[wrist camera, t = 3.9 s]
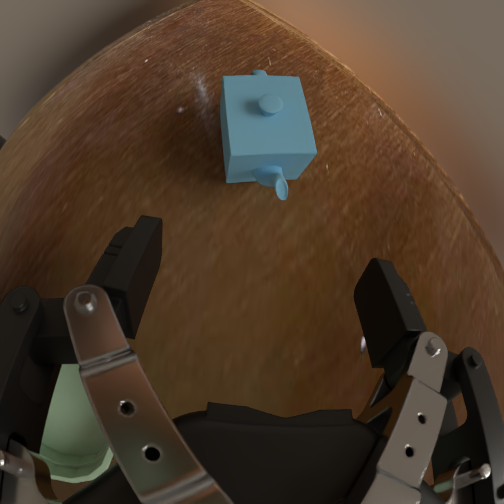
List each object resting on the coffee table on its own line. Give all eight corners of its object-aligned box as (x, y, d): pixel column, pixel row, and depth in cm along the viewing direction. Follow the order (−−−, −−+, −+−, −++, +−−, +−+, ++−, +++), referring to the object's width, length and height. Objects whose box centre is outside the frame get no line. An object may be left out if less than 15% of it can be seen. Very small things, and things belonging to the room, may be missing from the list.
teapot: (299, 219, 25) (332, 193, 18) (229, 224, 24) (237, 199, 17) (279, 104, 26) (299, 55, 19) (218, 105, 26) (222, 53, 18)
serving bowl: (3, 426, 18) (-17, 440, 14) (-3, 290, 21) (-30, 290, 16) (129, 478, 20) (119, 503, 16) (134, 331, 22) (118, 341, 18)
